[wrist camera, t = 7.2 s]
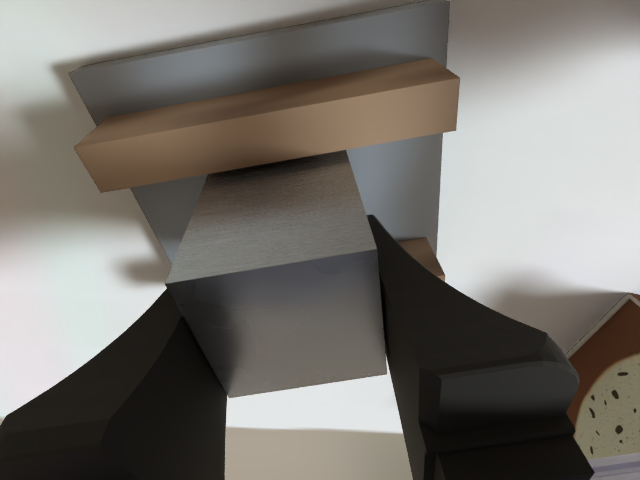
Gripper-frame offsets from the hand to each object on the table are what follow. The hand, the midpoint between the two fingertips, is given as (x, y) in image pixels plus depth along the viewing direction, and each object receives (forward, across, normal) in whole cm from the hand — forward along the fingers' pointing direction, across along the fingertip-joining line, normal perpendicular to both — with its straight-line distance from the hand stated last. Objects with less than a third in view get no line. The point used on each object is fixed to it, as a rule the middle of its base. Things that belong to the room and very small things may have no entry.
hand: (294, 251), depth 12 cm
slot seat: (+4, 0, 0) cm, 4 cm away
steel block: (+2, 0, 0) cm, 2 cm away
